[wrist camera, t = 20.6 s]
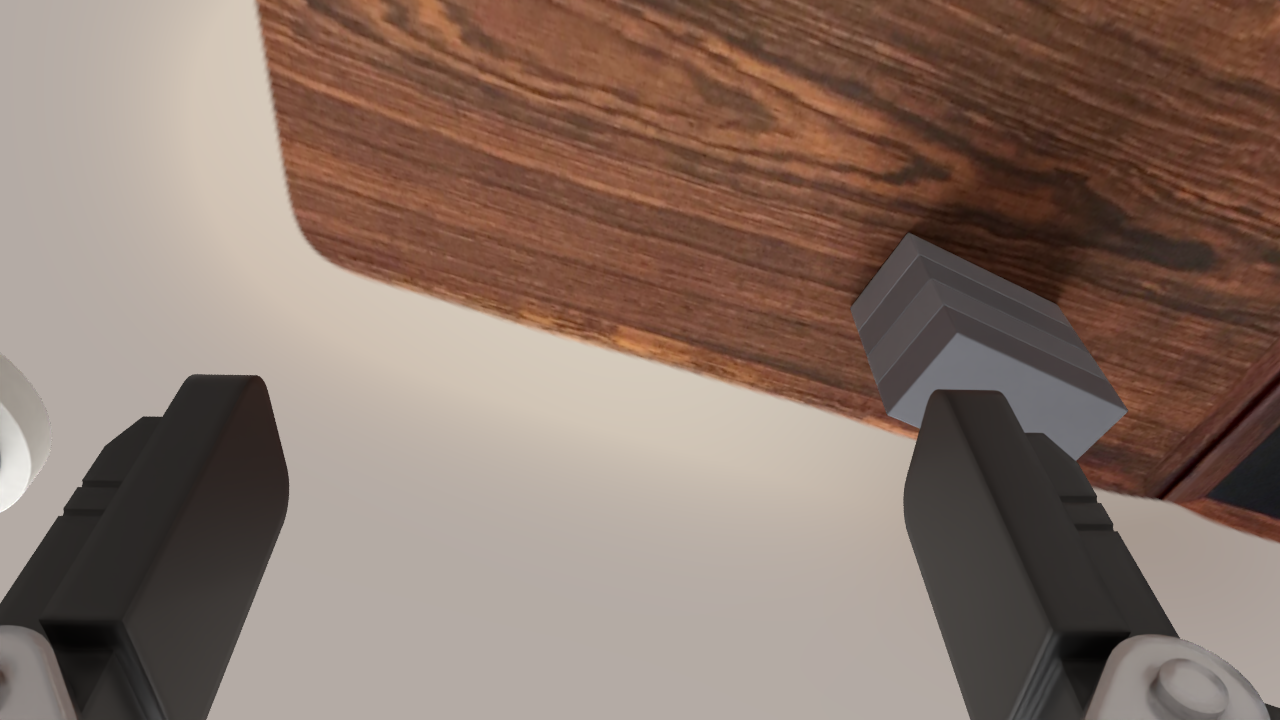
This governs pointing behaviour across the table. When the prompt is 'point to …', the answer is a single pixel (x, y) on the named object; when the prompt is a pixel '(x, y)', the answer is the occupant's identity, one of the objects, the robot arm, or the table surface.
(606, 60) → the table surface
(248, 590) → the robot arm
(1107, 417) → the grey rectangular block
